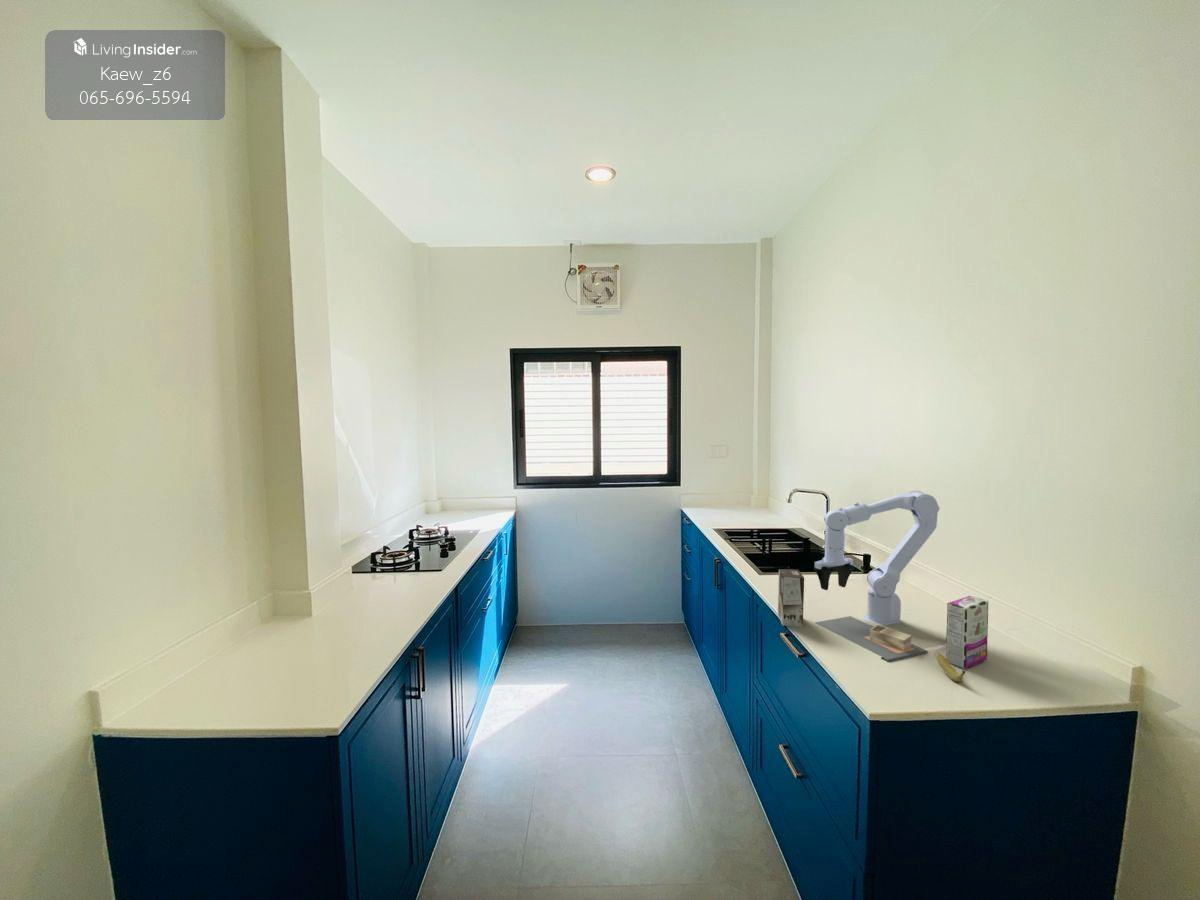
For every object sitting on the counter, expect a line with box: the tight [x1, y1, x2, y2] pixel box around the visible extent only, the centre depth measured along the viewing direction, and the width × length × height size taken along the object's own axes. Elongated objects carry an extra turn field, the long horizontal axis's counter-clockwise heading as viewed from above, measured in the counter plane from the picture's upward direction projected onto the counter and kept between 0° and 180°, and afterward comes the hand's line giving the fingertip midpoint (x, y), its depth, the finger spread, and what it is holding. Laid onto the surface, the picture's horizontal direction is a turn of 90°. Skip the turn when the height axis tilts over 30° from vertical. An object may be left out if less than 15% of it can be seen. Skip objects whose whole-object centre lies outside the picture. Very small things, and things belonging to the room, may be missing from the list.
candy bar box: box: [945, 595, 989, 670], centre depth 131 cm, size 11×5×16 cm, turn 117°
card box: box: [870, 624, 912, 651], centre depth 141 cm, size 9×5×3 cm, turn 38°
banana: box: [935, 652, 967, 683], centre depth 123 cm, size 10×2×4 cm, turn 177°
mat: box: [814, 615, 928, 663], centre depth 146 cm, size 15×26×1 cm, turn 20°
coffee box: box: [777, 568, 805, 628], centre depth 157 cm, size 9×6×16 cm
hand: (833, 587), depth 162 cm, fingers open, 7 cm apart
